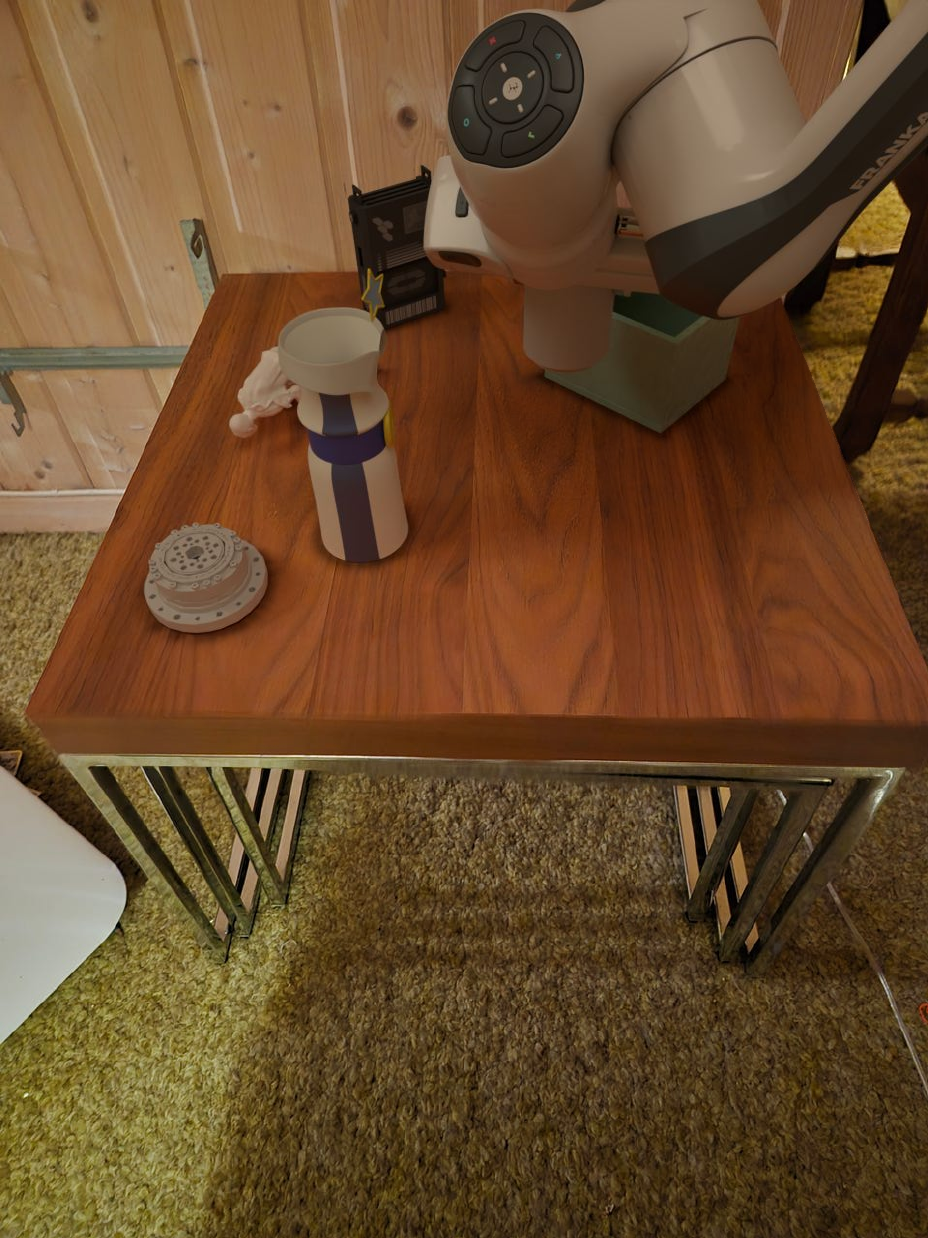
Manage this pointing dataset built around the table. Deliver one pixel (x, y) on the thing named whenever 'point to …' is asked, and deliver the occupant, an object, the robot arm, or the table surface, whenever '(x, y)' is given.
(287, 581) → the table surface
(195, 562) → the mechanical component
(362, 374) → the water bottle
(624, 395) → the green box
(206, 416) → the table surface
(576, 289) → the can
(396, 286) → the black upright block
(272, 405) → the figurine
